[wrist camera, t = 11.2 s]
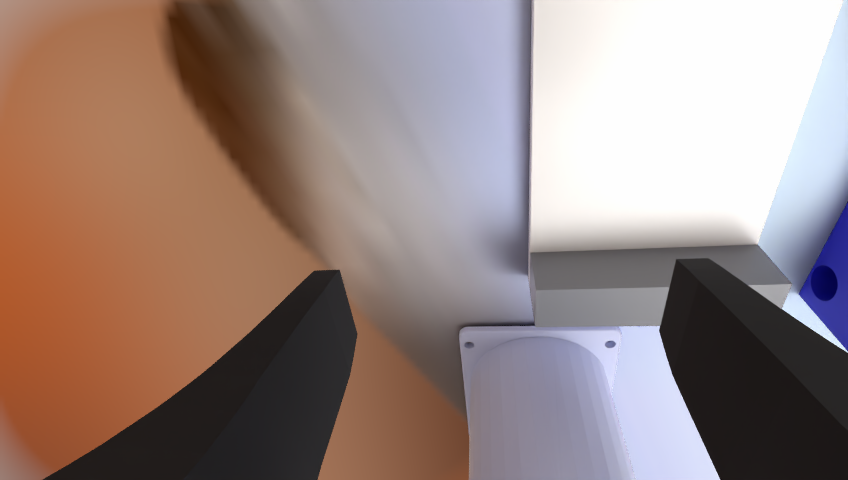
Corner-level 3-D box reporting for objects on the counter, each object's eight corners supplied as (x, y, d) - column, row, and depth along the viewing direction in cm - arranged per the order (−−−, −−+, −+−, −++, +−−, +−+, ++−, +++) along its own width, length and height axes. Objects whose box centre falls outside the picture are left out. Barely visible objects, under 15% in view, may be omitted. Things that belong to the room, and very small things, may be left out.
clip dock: (735, 271, 20) (774, 324, 18) (527, 277, 22) (535, 327, 19) (944, -358, 10) (1110, -460, 8) (535, -276, 12) (552, -337, 9)
